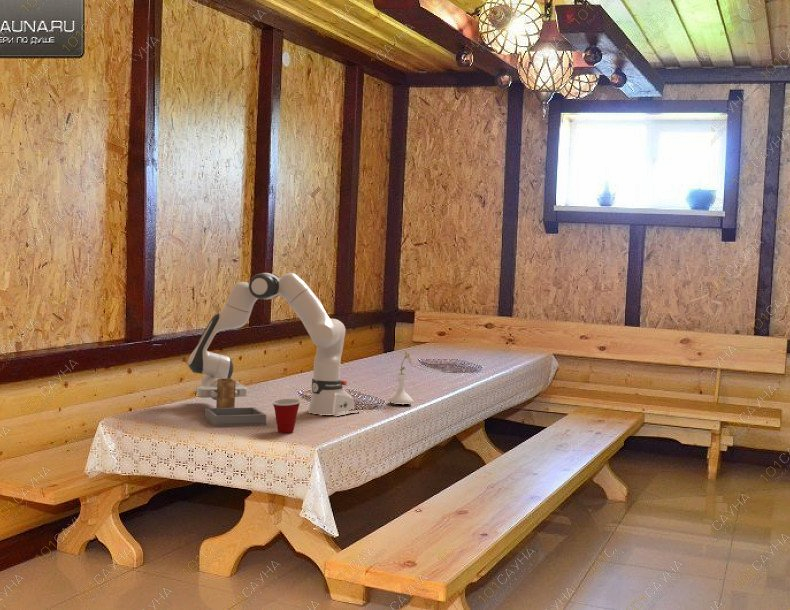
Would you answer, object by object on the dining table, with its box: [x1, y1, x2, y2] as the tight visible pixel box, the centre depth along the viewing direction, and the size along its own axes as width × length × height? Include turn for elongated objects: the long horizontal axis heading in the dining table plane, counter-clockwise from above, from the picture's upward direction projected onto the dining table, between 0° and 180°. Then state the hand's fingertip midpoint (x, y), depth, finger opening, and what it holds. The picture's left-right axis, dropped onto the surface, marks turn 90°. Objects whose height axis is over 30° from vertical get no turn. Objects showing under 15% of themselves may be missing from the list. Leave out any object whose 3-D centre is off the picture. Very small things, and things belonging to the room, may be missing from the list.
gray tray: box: [204, 406, 267, 428], centre depth 405 cm, size 20×16×4 cm
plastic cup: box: [271, 398, 301, 434], centre depth 390 cm, size 11×11×12 cm
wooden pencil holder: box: [215, 378, 236, 408], centre depth 418 cm, size 6×7×14 cm
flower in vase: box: [387, 347, 414, 403], centre depth 462 cm, size 13×11×25 cm
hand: (226, 395), depth 417 cm, fingers closed on wooden pencil holder, 6 cm apart
